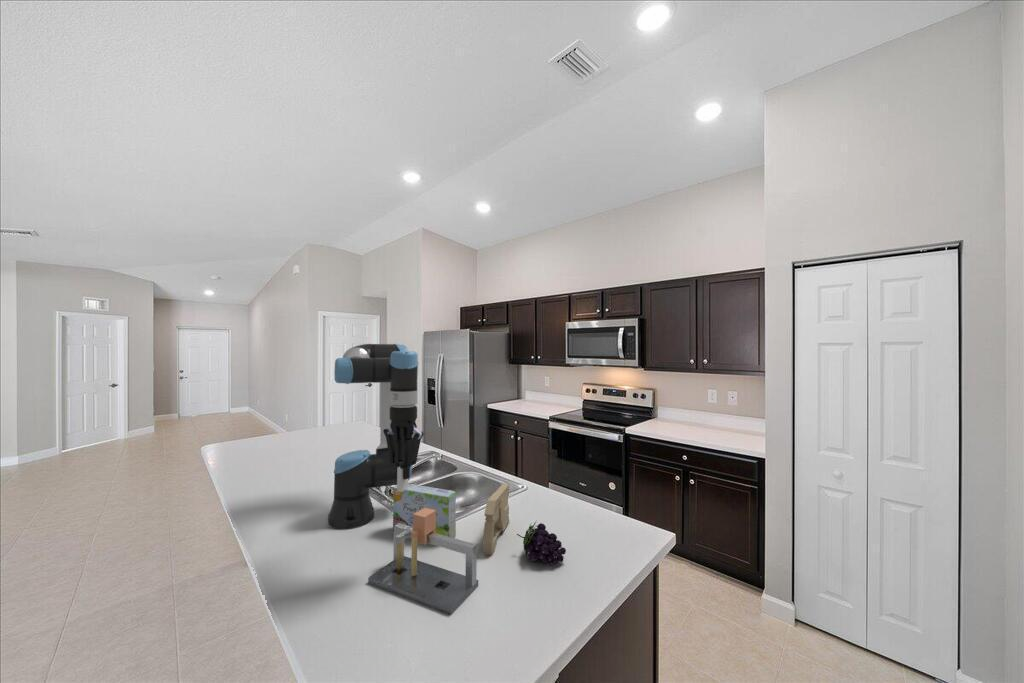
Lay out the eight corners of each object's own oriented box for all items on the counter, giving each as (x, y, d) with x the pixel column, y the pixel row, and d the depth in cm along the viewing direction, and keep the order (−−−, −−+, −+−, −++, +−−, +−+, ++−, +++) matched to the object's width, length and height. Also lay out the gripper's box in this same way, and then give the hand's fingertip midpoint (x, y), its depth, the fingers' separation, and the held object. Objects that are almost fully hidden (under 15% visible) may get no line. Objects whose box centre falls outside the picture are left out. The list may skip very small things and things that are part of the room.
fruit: (557, 581, 104) (507, 558, 109) (564, 555, 114) (518, 535, 118) (565, 550, 102) (514, 528, 106) (572, 526, 112) (525, 507, 116)
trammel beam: (383, 571, 102) (383, 531, 103) (398, 560, 108) (398, 523, 108) (463, 599, 91) (464, 555, 91) (476, 586, 96) (476, 544, 96)
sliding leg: (406, 573, 99) (407, 517, 99) (423, 560, 105) (424, 507, 106) (418, 577, 97) (419, 520, 98) (435, 564, 104) (436, 510, 104)
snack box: (391, 533, 125) (392, 487, 125) (401, 525, 130) (402, 481, 130) (447, 545, 117) (448, 496, 118) (456, 536, 123) (457, 489, 123)
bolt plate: (368, 583, 98) (368, 577, 98) (400, 560, 109) (400, 555, 109) (450, 615, 86) (451, 608, 86) (478, 585, 97) (478, 580, 97)
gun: (492, 558, 110) (493, 504, 112) (481, 556, 111) (482, 503, 112) (509, 527, 134) (510, 483, 135) (500, 526, 134) (501, 483, 136)
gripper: (376, 405, 106) (375, 490, 106) (412, 409, 101) (411, 498, 100) (395, 402, 113) (394, 482, 112) (430, 405, 107) (429, 489, 107)
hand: (402, 489), depth 106 cm, fingers closed
